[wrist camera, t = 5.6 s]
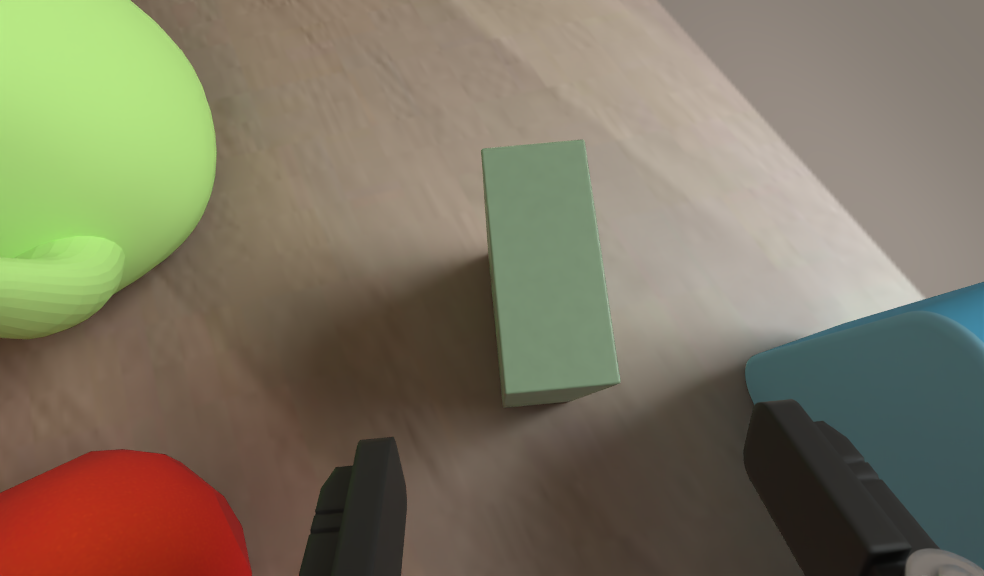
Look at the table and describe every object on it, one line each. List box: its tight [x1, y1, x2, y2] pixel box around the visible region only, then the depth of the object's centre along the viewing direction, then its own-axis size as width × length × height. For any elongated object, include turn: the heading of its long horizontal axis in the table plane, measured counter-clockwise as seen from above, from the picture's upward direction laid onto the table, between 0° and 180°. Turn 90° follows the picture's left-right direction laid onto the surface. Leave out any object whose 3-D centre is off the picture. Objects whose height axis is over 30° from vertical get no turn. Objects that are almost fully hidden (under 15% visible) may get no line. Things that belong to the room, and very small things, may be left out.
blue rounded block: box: [745, 282, 984, 570], centre depth 17 cm, size 12×4×12 cm, turn 19°
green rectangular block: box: [481, 140, 620, 408], centre depth 20 cm, size 3×7×10 cm, turn 6°
